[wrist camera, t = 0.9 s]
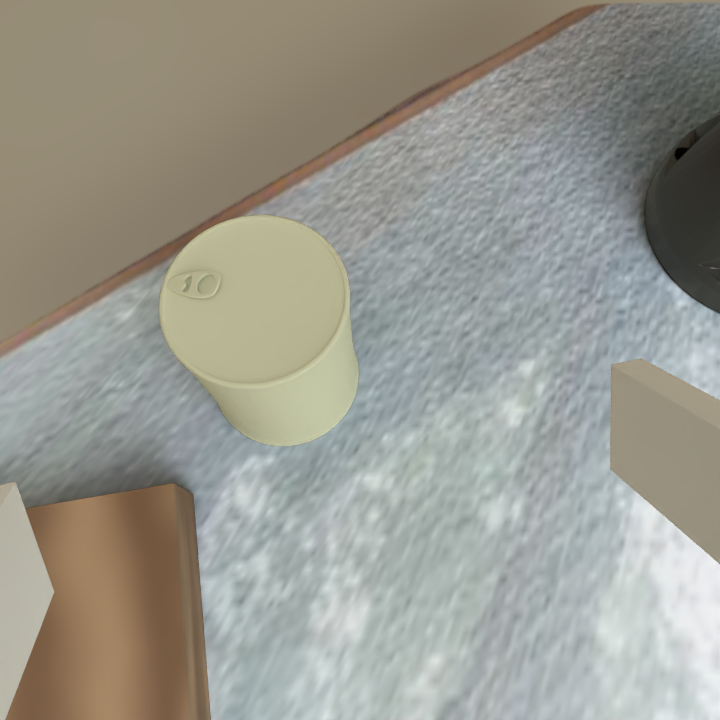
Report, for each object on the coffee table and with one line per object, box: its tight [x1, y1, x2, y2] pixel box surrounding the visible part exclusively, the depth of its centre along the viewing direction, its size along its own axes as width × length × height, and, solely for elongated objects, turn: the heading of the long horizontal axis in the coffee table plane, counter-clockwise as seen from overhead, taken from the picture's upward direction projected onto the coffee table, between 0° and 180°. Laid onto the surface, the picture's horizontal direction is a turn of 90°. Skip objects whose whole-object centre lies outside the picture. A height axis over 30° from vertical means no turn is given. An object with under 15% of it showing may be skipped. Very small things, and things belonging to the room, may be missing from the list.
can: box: [159, 215, 359, 446], centre depth 36 cm, size 9×9×12 cm
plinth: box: [5, 483, 211, 720], centre depth 34 cm, size 15×15×4 cm
